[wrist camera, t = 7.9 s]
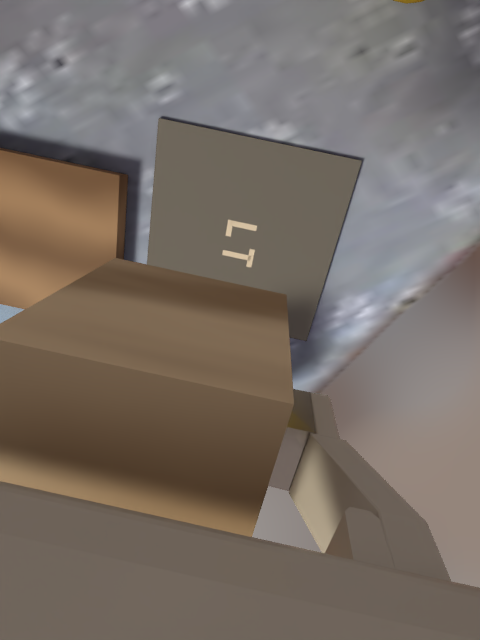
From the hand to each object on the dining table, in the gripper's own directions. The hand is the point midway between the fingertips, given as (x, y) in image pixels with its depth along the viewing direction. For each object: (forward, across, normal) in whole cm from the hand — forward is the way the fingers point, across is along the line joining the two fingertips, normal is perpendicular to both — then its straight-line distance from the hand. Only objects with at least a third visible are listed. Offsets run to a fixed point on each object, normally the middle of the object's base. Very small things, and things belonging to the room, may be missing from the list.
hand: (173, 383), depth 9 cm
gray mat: (+19, 0, 0) cm, 19 cm away
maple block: (+2, 0, 0) cm, 2 cm away
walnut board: (+19, +15, +3) cm, 24 cm away
